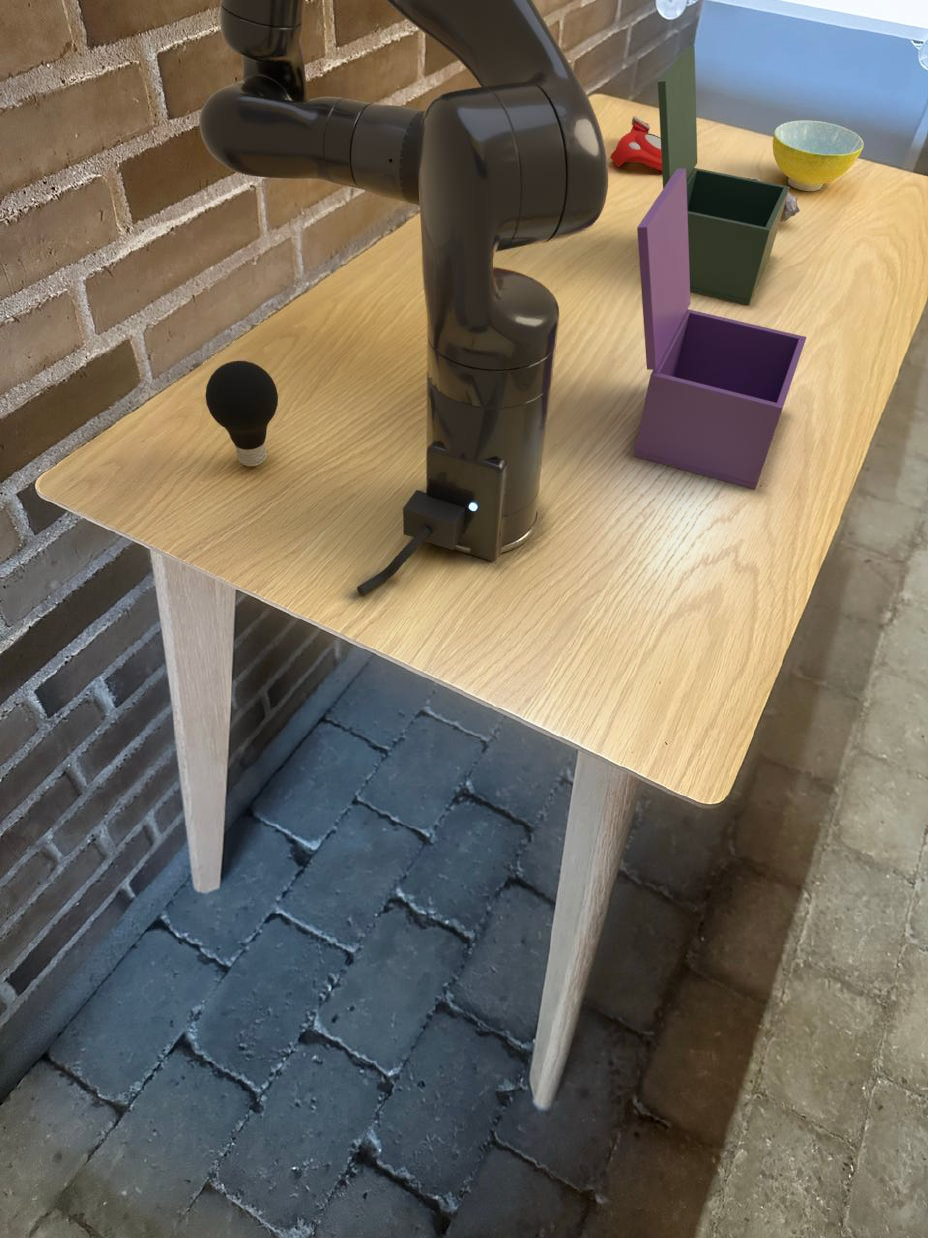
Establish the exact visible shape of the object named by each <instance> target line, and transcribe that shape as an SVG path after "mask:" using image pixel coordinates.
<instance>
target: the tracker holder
mask: <svg viewBox="0 0 928 1238" xmlns="http://www.w3.org/2000/svg"><path fill="white" fill-rule="evenodd" d="M631 126H632V128H631V130H630V131H629V132H628V133H626V134H624V135H623V136H621V138H620V139H619V141H618V143H617V145H616V147H615V150H614V151H613V152H612V153H611V154H610V156H609V157H610V159H611V161H612V162H614V164H615V165H616V166H617V167H618V168H622V167H623V166H624V164H625V163H626V162H627V163H628V162H629V163H630V162H631V163H632V162H633V163H641V164H642V165H645V166H647V167H650V168H653V169H655V170H657V171H658V170H659V171H661V172H662V157H661V136H658V135H655V134H652V133H650V129H651V126H650V125H649V123H647V122H645V121H644V120H642V119H640V118H638V117H637V116H635V115H633V117H632V119H631Z"/></svg>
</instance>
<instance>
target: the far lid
mask: <svg viewBox="0 0 928 1238" xmlns="http://www.w3.org/2000/svg"><path fill="white" fill-rule="evenodd" d="M695 48H696V47H695V46H694V45H691V46H687V47H686V48H685V49H684V50H683V51H682V53H681V54H680V55H679V56H678V57H677V58H676V59H675V61H674V62H673V63H672V64H671V66H670V67H669V68H668V69H667V71H666V72H664V74H663V75H662V76H661V77H660V78H659V80H658V81H657V92H658V95H657V96H658V113H659V114H658V115H659V133H660V136H659V137H660V138H661V157H662V171H661V175H662V190H663V189H664V187H665V186H666V184H667V183H668V181H669V180H670V178H671V177H672V175H673V174H674V172H675V171H676V169H682V168H686V180H687V178H688V177H689V175H690V174H691V172H692V171H693V169H694V168H696V166H697V164H698V132H697V131H698V130H697V129H698V128H697V127H698V126H697V125H698V123H697V92H696V91H697V90H696V89H697V87H696V59H695V58H696V53H695V51H696V50H695Z"/></svg>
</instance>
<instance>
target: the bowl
mask: <svg viewBox="0 0 928 1238" xmlns="http://www.w3.org/2000/svg"><path fill="white" fill-rule="evenodd" d="M864 145H865V144H864V140H863V139H862V137H860V135H858V134H857V133H856V132H855V131H853V130H850V129H849V128H847V127H844V126H842V125H838V124H835V123H831V122H827V121H820V120H806V119H803V120H802V119H801V120H792V121H787V122H784V123H781V124H779V125H778V126H777V127H776V128H775V129H774V132H773V136H772V151H773V153H772V154H773V158H774V160H775V162H776V165H777V167H778V168H779V170H780V171H781V172H782V174H784V176H786V177H788V180H787V183H788V186H789V187H792V188H793V189H796V190H799V191H802V192H803V191H804V192H815V191H816V192H817V191H819V190H820V189H822V187H823V184H826V183H830V182H832V181H835V180H837V179H839V178H840V177H842V176H843V175H844V174H845V173H847V172H848V171H849V170H850V169H851V168H852V166H853V165H854V164H855V162H856V161H857V160H858V158H859V157H860V155H861V153H862V151H863V149H864Z"/></svg>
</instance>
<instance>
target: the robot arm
mask: <svg viewBox="0 0 928 1238" xmlns="http://www.w3.org/2000/svg"><path fill="white" fill-rule="evenodd" d="M384 1H385V2H386V3H387V4H388V5H389V6H391V7H392V9H394V10H395V11H396V12H397V13H398V14H400V15H401V16H402V17H403V18H405V20H407V21H408V22H409V23H410V24H412V25H413V26H414V27H416V28H417V29H419V30H420V31H421V32H422V33H424V34H425V35H426V36H428V37H429V39H432V40H433V41H434V42H435V43H437V44H439V45H440V46H441V47H443V49H445V50H446V51H447V52H449V53H450V54H451V55H452V56H453V57H455V59H457V60H458V61H459V62H460V63H461V64H462V65H463V66H464V67H465V68H466V69H467V70H468V71H469V72H470V73H471V75H472V76H473V78H474V79H475V80H476V81H477V82H478V84H479V85H480V86H479V87H471V88H463V89H458V90H457V89H456V90H451V91H446V92H443V93H440V94H438V95H437V96H435V97H434V98H432V100H431V101H429V103H428V105H427V106H426V108H425V110H422V109H417V108H412V107H408V106H402V105H395V104H394V105H393V104H377V103H371V102H365V101H360V100H356V99H351V98H345V97H341V96H340V97H339V96H320V97H316V98H311V99H308V88H307V86H308V85H307V76H306V66H305V65H306V64H305V58H304V57H305V56H304V51H303V46H302V45H303V44H302V33H303V27H304V19H305V9H306V0H220V4H219V20H220V21H219V24H220V33H221V36H222V39H223V41H224V42H225V44H226V45H227V46H228V47H229V48H230V49H231V50H232V51H233V52H235V53H237V54H238V55H239V56H241V64H242V74H241V80H239V81H237V82H235V83H231V84H229V85H227V86H224V87H222V88H220V89H218V90H216V91H215V92H214V93H212V94H211V95H210V96H209V97H208V98H207V100H206V101H205V102H204V104H203V106H202V108H201V111H200V114H199V121H198V122H199V123H198V124H199V132H200V137H201V139H202V142H203V144H204V146H205V148H206V149H207V151H208V152H209V154H211V155H210V156H212V157H213V158H214V159H215V160H216V161H217V162H219V163H220V165H223V166H224V167H225V168H227V169H229V170H231V171H233V172H235V173H238V174H240V175H245V176H250V177H255V178H256V177H257V178H269V179H272V178H273V179H290V180H291V179H292V180H294V179H295V180H298V179H299V180H303V179H311V180H312V179H313V180H314V179H316V180H322V181H326V182H329V183H332V184H337V185H342V186H346V187H350V188H355V189H359V190H362V191H365V192H369V193H372V194H374V195H376V196H380V197H382V198H386V199H389V200H394V201H398V202H403V203H407V204H411V205H415V206H419V213H420V215H419V216H420V234H421V235H420V236H421V237H420V238H421V269H422V285H423V294H424V301H425V309H426V452H425V455H426V457H425V459H426V460H425V461H426V462H425V471H426V472H425V473H426V474H425V481H426V482H425V491H422V490H419V489H416V490H415V491H414V493H412V495H411V496H410V498H409V499H408V500H407V502H406V504H404V506H403V507H402V519H403V520H402V524H403V525H402V526H403V527H402V531H403V535H404V536H407V537H410V538H411V539H410V540H409V542H408V543H407V544H406V545H405V546H404V547H403V548H402V549H401V550H400V551H399V553H397V554H396V556H395V557H394V558H393V559H392V560H391V561H390V563H388V565H387V566H386V567H385V568H384V569H383V570H381V571H380V572H379V573H377V574H376V575H375V576H373V577H371V578H369V579H368V580H366V581H365V582H363V583H361V584H359V585H358V586H357V587H356V590H357V593H358V594H359V595H360V596H361V597H364V596H366V595H367V594H368V593H370V592H372V591H374V590H376V589H377V588H379V587H380V586H382V585H383V584H385V583H386V582H387V581H389V580H390V579H391V578H392V577H393V576H394V575H395V574H397V572H398V571H399V570H400V569H401V568H402V566H403V565H404V564H405V563H406V562H407V561H408V560H409V558H411V557H412V555H413V554H414V553H416V551H417V550H418V549H419V548H420V547H421V546H422V545H423V543H424V542H426V543H429V544H431V545H432V544H433V545H436V546H438V547H442V548H445V549H448V550H451V551H454V550H455V551H457V552H461V553H464V554H468V555H471V556H475V557H478V558H481V559H484V560H487V561H490V562H495V561H497V559H498V557H499V556H500V555H501V554H503V553H506V552H509V551H512V550H514V549H517V548H518V547H520V546H521V545H524V543H526V542H527V541H528V540H529V539H530V537H532V535H533V533H534V531H535V530H536V526H537V521H538V504H539V502H538V501H539V494H540V484H541V475H542V467H543V458H544V450H545V442H546V434H547V433H546V432H547V425H548V415H549V414H548V413H549V407H550V400H551V399H550V398H551V390H552V382H553V375H554V367H555V358H556V352H557V351H556V350H557V342H558V335H559V334H558V333H559V325H560V308H559V307H560V306H559V303H558V301H557V299H556V297H555V295H554V294H553V293H552V292H551V290H550V289H549V288H548V287H547V286H545V285H544V284H543V283H541V282H540V281H538V280H537V279H535V278H533V277H531V276H530V275H527V274H524V273H522V272H518V271H516V270H512V269H508V268H504V267H499V266H494V257H495V253H498V252H503V251H508V250H513V249H519V248H524V247H528V246H529V247H530V246H536V245H540V244H545V243H551V242H555V241H560V240H563V239H568V238H571V237H573V236H576V235H579V234H581V233H583V232H586V231H587V230H588V229H590V228H591V227H592V226H594V224H595V223H596V222H597V221H598V220H599V218H600V216H601V214H602V212H603V210H604V208H605V205H606V200H607V196H608V189H609V165H608V159H607V151H606V146H605V141H604V137H603V134H602V133H603V132H602V129H601V127H600V123H599V120H598V118H597V115H596V113H595V111H594V108H593V106H592V103H591V101H590V98H589V96H588V94H587V92H586V91H585V89H584V87H583V84H582V83H581V81H580V80H579V77H578V75H577V74H576V72H575V70H574V69H573V66H572V65H571V64H570V61H569V60H568V58H567V57H566V55H565V53H564V51H563V49H562V48H561V46H560V44H559V43H558V41H557V39H556V38H555V36H554V34H553V32H552V31H551V29H550V27H549V26H548V24H547V22H546V21H545V19H544V18H543V15H542V13H541V12H540V10H539V8H538V7H537V5H536V3H535V2H534V0H384Z"/></svg>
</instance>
